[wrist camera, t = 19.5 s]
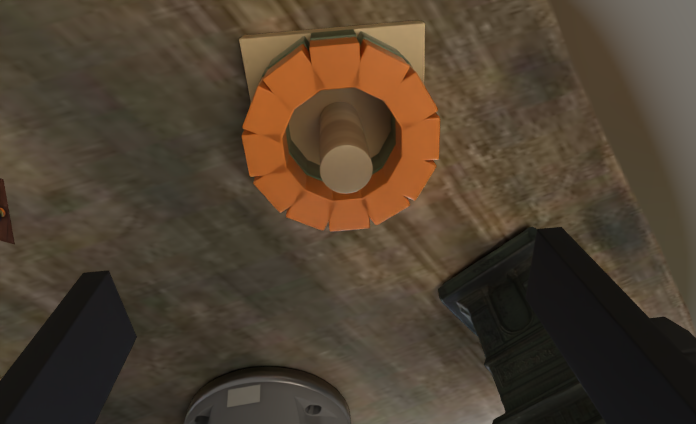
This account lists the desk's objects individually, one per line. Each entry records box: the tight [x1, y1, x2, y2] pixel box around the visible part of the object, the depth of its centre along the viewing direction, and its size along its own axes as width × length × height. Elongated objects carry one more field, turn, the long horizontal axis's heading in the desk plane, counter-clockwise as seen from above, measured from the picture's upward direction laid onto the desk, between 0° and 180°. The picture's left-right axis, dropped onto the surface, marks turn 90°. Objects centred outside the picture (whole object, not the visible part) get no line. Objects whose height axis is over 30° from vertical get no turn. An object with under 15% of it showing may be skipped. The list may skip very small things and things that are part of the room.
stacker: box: [239, 20, 425, 203], centre depth 23 cm, size 10×10×8 cm
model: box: [438, 227, 606, 424], centre depth 29 cm, size 14×9×15 cm, turn 44°
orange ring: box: [242, 37, 440, 232], centre depth 23 cm, size 10×10×2 cm
